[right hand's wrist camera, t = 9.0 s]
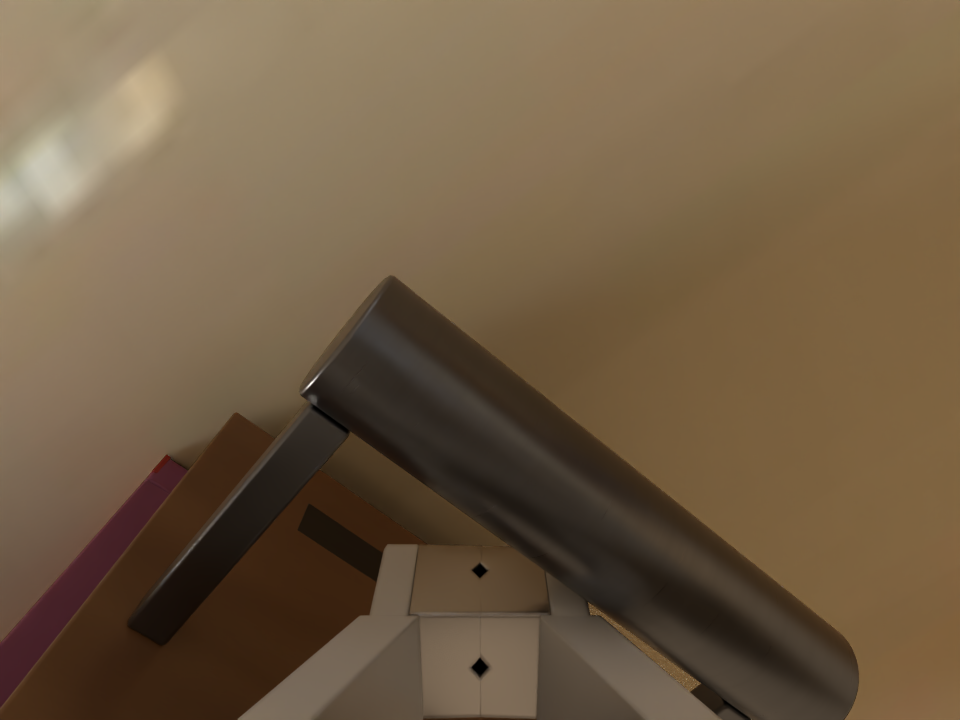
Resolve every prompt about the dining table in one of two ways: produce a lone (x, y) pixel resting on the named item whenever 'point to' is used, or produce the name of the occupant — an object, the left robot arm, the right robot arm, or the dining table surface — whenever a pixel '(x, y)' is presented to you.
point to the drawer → (366, 532)
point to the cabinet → (82, 577)
